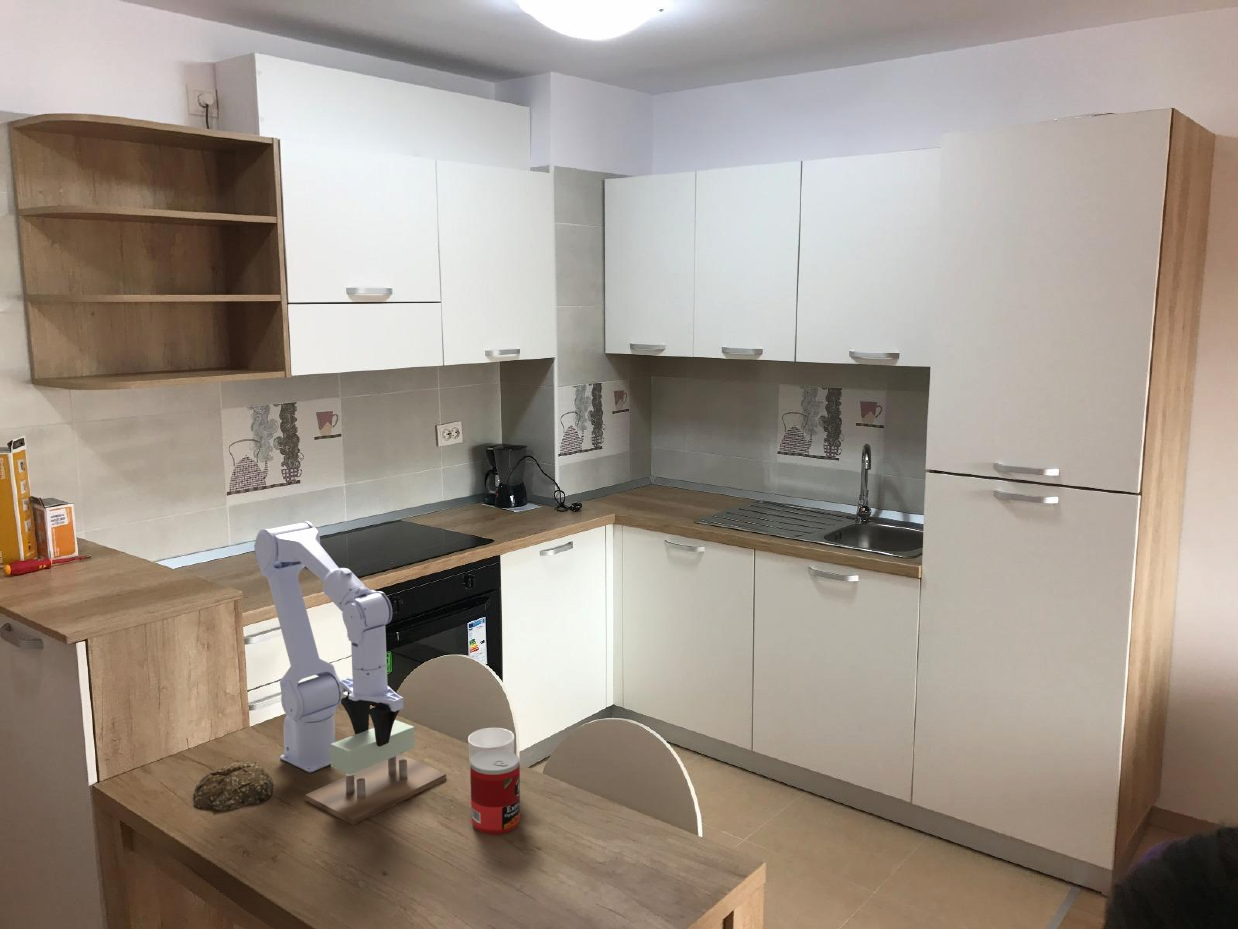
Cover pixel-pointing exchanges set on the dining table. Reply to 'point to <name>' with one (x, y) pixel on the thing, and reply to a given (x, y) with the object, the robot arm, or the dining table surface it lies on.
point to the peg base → (375, 788)
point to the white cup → (490, 741)
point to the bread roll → (233, 787)
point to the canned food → (495, 791)
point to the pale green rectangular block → (370, 748)
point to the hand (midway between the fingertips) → (372, 739)
